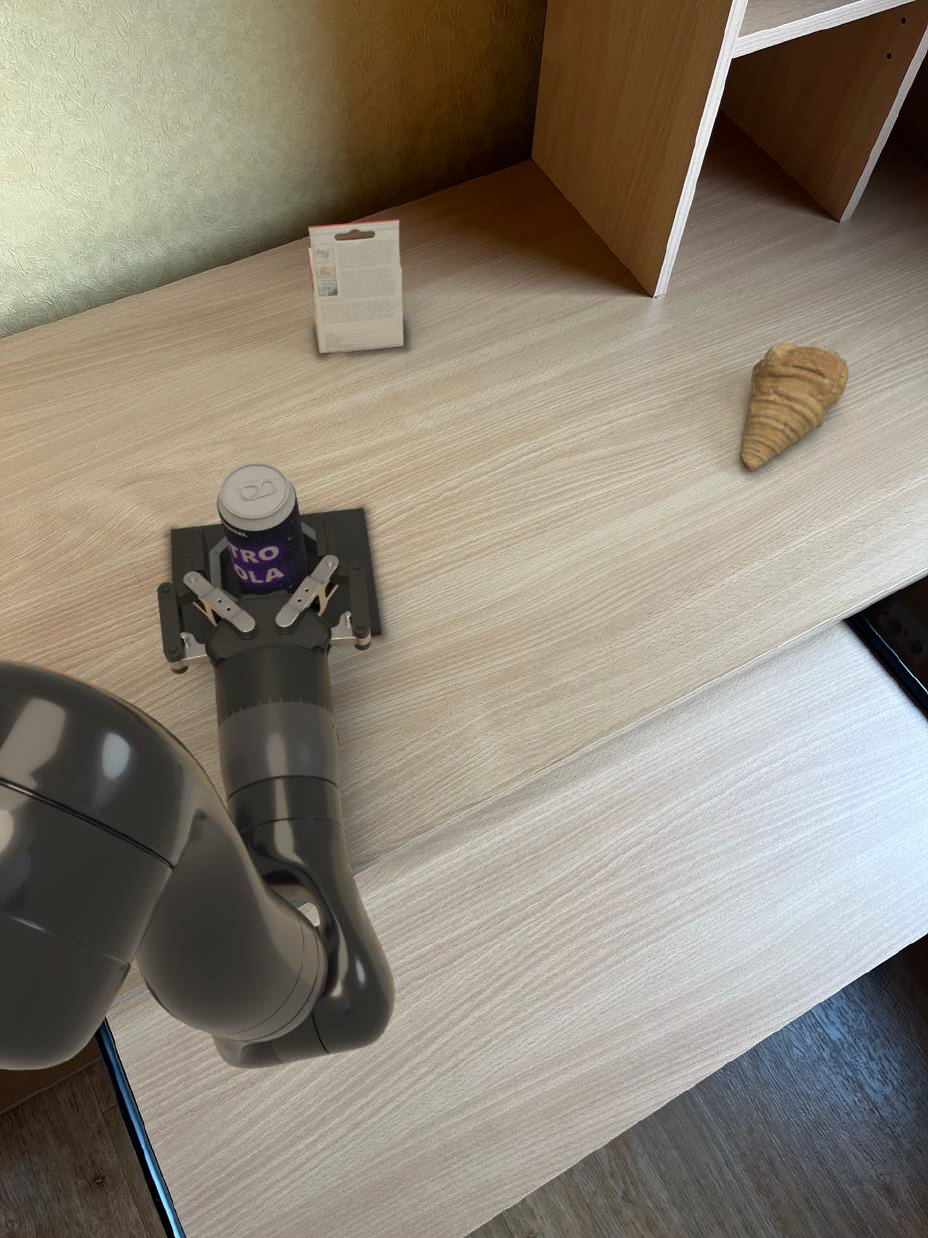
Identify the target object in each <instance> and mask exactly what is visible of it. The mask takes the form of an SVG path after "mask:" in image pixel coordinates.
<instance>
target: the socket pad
mask: <svg viewBox="0 0 928 1238" xmlns="http://www.w3.org/2000/svg"><path fill="white" fill-rule="evenodd" d="M318 515H323V521H324V522H329V521H331V523H332V524H333V526H334V530H335V538H336V545H337V553H338V556H339V558H340V559H342V560H343V561H347V562H351V561H353V560H361V561H363V562H364V563H365V567H366V580H367V593H368V607H369V620H370V634H371V637H373V636H380V635H382V625H381V618H380V612H379V606H378V598H377V591H376V585H375V578H374V570H373V565H372V564H373V563H372V556H371V551H370V550H371V549H370V543H369V538H368V537H369V536H368V530H367V522H366V517H365V516H366V515H365V509H364V507H357V508H347V509H340V510H339V509H337V510H331V511H322V512H313V513H305V514H300V520H301V526H302V532H303V538H304V544H305V550H306V556H307V561H308V568H309V576H310V575H311V574H312V573H313V571H314V570H315V569H316V567H317V566H318V564H319V560H318V552H317V544H316V536H315V527H314V519H313V516H318ZM202 528H203V531H204V534H205V538H206V541H207V548H208V565H209V582H210V584H211V585H212V586H213V587H217V588H219V589H220V590H221V591H222V592H223V593H224V594H225V595H226V596H228V597H229V598H230V599H231V600H232V601H233V602H236V601H237V600H239V599H241V595H246V594H245V593H244V592H243V591H242V590H241V588H240V586H239V583H238V580H237V576H236V573H235V569H234V566H233V562H232V559H231V555H230V551H229V548H228V544H227V541H226V537H225V534H224V530H223V526H222V523H215V524H207V525H206V524H205V525H197V526H189V527H180V528H171V529H170V545H171V546H170V548H171V551H170V552H171V575H172V576H171V578H172V579H171V580H172V584H173V583H175V582H177V581H179V580H181V579H182V578H183V577H184V575H185V560H184V542H185V540H186V538H188V537H193V535H192V530H193V529H202ZM347 611H350V612H351V605H350V589H349V587H346V586H340V585H339V586H338V587H337V588H336V590H335V591H334V593H333V594H332V596H331V597H330V599H329V600H328V602H327V606H326V608H325V610H324V612H323V613H322V614H321V616H320V617H321V618H322V619H323V620H324V621H326V622H327V623H328V625H329V626H330V628H333V627H336V626H337V625H338V624H339V622H340V617H341V616H342V614H344V613H345V612H347ZM182 612H183V620H184V629H185V632H186V633H191V634H192V635H193V636H194V638H195V640H196V642H197V643H199V644H205V643H206V640H207V638H208V637H209V635H210V634H211V633H212V631H213V630H214V628H215V627H216V626H215V625H214V624H213V623H212V622H211V621H210V620H209V618H208V617H207V616H206V615H205V614H204V613H203V612H202V611H201V610H200V609H199V608H198V607H197V606H196V605H195V604H194V603H191V604H189V605H187V606H184V607H182Z"/></svg>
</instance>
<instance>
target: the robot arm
mask: <svg viewBox="0 0 928 1238" xmlns="http://www.w3.org/2000/svg"><path fill="white" fill-rule="evenodd" d="M313 519H314V527H315V536H316V544H317V552H318V560H319V564H318V566H317V567H316V569H315V570H314V571H313V573H312V574H311V575H310V576H307V577H306V578H305V579H304V581H303V582H302V583H301V585H300V586H299V588H298V589H297V590H296V592H295V593H294V594H291V593H287V590H280V591H274V592H272V593H269V594H266V595H258V594H248V595H241V599H239V600H237V601H236V602H233V601H232V600H231V599H230V598H229V597H228V596H226V595H225V594H224V593H223V592H222V591H221V590H220V589H219V588H217V587H213V586H212V585H211V584H210V582H209V565H208V548H207V541H206V538H205V534H204V531H203V528H202V529H193V530H192V535H193V537H188V538H186V540H185V542H184V560H185V575H184V577H183V578H182V579H181V580H179V581H177V582H175V583H173V582H169V581H165V582H162V583H160V584H159V585H158V586H157V588H156V592H157V602H158V611H159V612H158V613H159V621H160V631H161V632H160V633H161V640H162V651H163V654H164V657H165V659H166V662H167V664H168V666H169V668H170V670H171V672H172V673H173V674H176V675H183V674H185V673H186V672H187V671H188V670H189V667H190V666H194V665H199V664H206V663H210V664H211V666H212V667H213V670H214V689H215V703H216V704H215V705H216V721H217V737H218V738H217V739H218V754H219V768H220V776H221V780H222V785H223V790H224V796H225V801H226V802H225V803H226V806H225V804H224V802H223V800H222V798H221V796H220V795H219V792H218V791H217V788H216V786H215V785H214V783H213V781H212V780H211V778H210V776H209V775H208V773H207V771H206V770H205V769H204V767H203V765H201V763H200V762H199V760H198V759H197V758H196V756H194V754H193V753H192V752H191V751H190V750H189V748H188V747H187V746H186V744H184V743H183V742H182V741H181V739H179V738H178V737H177V736H176V735H175V734H174V733H173V732H171V731H170V730H169V729H168V728H166V726H165V725H163V724H162V723H161V722H160V721H159V720H158V719H156V718H155V717H154V716H152V715H150V714H149V713H148V712H146V711H144V710H143V709H142V708H140V707H139V706H137V705H135V704H134V703H132V702H130V701H128V700H126V699H124V698H122V697H120V696H119V695H117V694H115V693H112V692H111V691H109V690H107V689H104V688H103V687H101V686H99V685H96V684H94V683H92V682H89V681H87V680H85V679H82V678H80V677H78V676H75V675H72V674H70V673H67V672H64V671H61V670H59V669H55V668H52V667H49V666H46V665H42V664H38V663H34V662H28V661H25V660H24V661H23V660H18V659H10V658H0V1070H8V1071H27V1070H45V1069H48V1068H52V1067H55V1066H59V1065H62V1064H65V1063H66V1062H68V1061H70V1060H71V1059H72V1058H74V1057H75V1056H76V1055H78V1054H79V1053H80V1052H81V1051H82V1050H83V1049H84V1048H85V1047H86V1046H88V1043H89V1042H90V1041H91V1039H92V1038H93V1036H94V1035H95V1033H96V1032H97V1030H98V1029H99V1027H101V1025H102V1023H103V1021H104V1020H105V1019H106V1017H107V1014H108V1013H109V1011H110V1009H111V1007H112V1006H113V1003H114V1002H115V1000H116V998H117V996H118V994H119V992H120V990H121V988H122V987H123V984H124V983H125V980H126V979H127V976H128V975H129V974H130V973H129V972H130V971H131V969H132V963H133V962H134V959H135V962H136V965H137V968H138V970H139V973H140V975H141V979H142V980H143V983H144V984H145V986H146V988H147V990H148V991H149V993H150V994H151V996H152V997H153V999H154V1000H155V1001H156V1002H157V1003H158V1005H159V1006H160V1007H161V1008H162V1009H163V1010H164V1011H165V1012H167V1014H168V1015H170V1016H171V1017H172V1018H174V1019H175V1020H177V1021H178V1022H181V1023H182V1024H185V1025H186V1026H188V1027H190V1028H192V1029H195V1030H199V1031H201V1032H205V1033H207V1034H210V1035H211V1037H212V1040H213V1043H214V1046H215V1048H216V1050H217V1052H218V1054H219V1056H220V1057H221V1059H222V1061H224V1062H225V1063H226V1064H227V1065H229V1066H230V1067H233V1068H236V1069H245V1070H246V1069H247V1070H250V1069H251V1070H253V1069H254V1070H256V1069H257V1070H258V1069H265V1068H272V1067H277V1066H281V1065H286V1064H291V1063H294V1062H295V1063H296V1062H301V1061H305V1060H310V1059H315V1058H320V1057H325V1056H330V1055H337V1054H341V1053H345V1052H350V1051H351V1052H352V1051H355V1050H359V1049H364V1048H365V1047H366V1048H367V1047H369V1046H371V1045H373V1044H375V1043H376V1042H378V1040H379V1039H380V1038H381V1037H382V1036H383V1035H384V1034H385V1032H386V1031H387V1028H388V1026H389V1025H390V1022H391V1019H392V1017H393V1013H394V1009H395V1003H396V987H395V981H394V975H393V971H392V970H391V966H390V964H389V961H388V958H387V955H386V954H385V953H386V952H385V950H384V949H383V947H382V944H381V942H380V940H379V937H378V935H377V933H376V931H375V929H374V927H373V924H372V922H371V920H370V917H369V915H368V912H367V910H366V907H365V905H364V903H363V901H362V898H361V894H360V892H359V889H358V886H357V882H356V881H355V876H354V874H353V869H352V866H351V862H350V858H349V853H348V849H347V842H346V833H345V824H344V818H343V809H342V799H341V794H340V749H339V741H340V740H339V734H338V730H337V724H336V717H335V709H334V700H333V692H332V683H331V674H330V666H329V654H330V651H331V650H332V647H334V646H335V647H336V646H346V645H353V647H354V649H356V650H358V651H360V652H361V651H362V652H363V651H367V650H369V648H370V647H371V646H372V636H371V634H370V620H369V607H368V593H367V580H366V567H365V563H364V562H363V561H361V560H353V561H351V562H347V561H343V560H342V559H340V558H339V556H338V553H337V545H336V538H335V530H334V526H333V524H332V523H331V521H329V522H324V521H323V515H318V516H313ZM339 585H340V586H346V587H349V589H350V605H351V612H350V611H347V612H345V613H344V614H342V616H341V617H340V622H339V624H338V625H337V626H336V627H333V628H330V626H329V625H328V623H327V622H326V621H324V620H323V619H322V618H321V617H320V616H321V614H322V613H323V612H324V610H325V608H326V606H327V602H328V600H329V599H330V597H331V596H332V594H333V593H334V591H335V590H336V588H337V587H338V586H339ZM191 603H194V604H195V605H196V606H197V607H198V608H199V609H200V610H201V611H202V612H203V613H204V614H205V615H206V616H207V617H208V618H209V620H210V621H211V622H212V623H213V624H214V625H215V626H216V627H215V628H214V630H213V631H212V633H211V634H210V635H209V637H208V638H207V640H206V643H205V644H199V643H197V642H196V640H195V638H194V636H193V635H192V634H191V633H186V632H185V629H184V620H183V612H182V607H184V606H187V605H189V604H191ZM291 902H301V903H308V904H311V905H313V906H314V907H315V910H316V911H317V915H318V920H319V924H317V925H314V924H313V923H312V921H311V920H310V919H309V918H308V917H307V916H306V915H305V914H304V913H303V912H302V910H299V909H298V908H297V907H296V906H295V905H294V904H292V903H291Z"/></svg>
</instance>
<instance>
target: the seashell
mask: <svg viewBox="0 0 928 1238" xmlns="http://www.w3.org/2000/svg"><path fill="white" fill-rule="evenodd" d="M849 373H850V371H849V368H848V364H847V361H846V359H845V357H844V356H843V355H842V354H840V353H839V352H838V351H836V350H832V349H831V348H829V346H824V347H821V346H805V345H802V346H800V345H796V344H794V343H791V344H790V343H785V342H784V343H783V342H782V343H780V344H777V345H774V346H772V347H770V348H768V350H767V351H766V353H765V354H764V358H762V359H760V360H759V361H758V362H757V363H756V364H755V365H754V366H753V367H752V370H751V378H750V382H751V383H750V388H751V389H750V393H751V395H750V398H749V405H748V413H747V416H746V419H745V425H744V426H743V436H742V441H741V446H740V447H741V448H740V450H739V453H740V457H741V459H742V461H743V463H744V464H745V465H746V466H747V468H748V470H749V471H750V472H753V471H755V470H757V469H759V468H760V467H761V466H763V465H766V464H767V463H768V462H769V461H771V459H772V458H773V457H776V456H779V455H780V454H781V453H783V452H784V451H785V450H786V448H787V447H789V446H791V445H794V444H795V443H796V442H800V441H801V440H802V439H803V437H804V435H806V434H808V433H812V432H814V431H816V429H820V428H822V427H823V426H824V419H825V415H826V412H827V410H828V408H829V407H830V406H833V405H836V404H838V403H839V400H840V398H841V397H842V396H843V395H844V392H845V390H846V388H847V384H848V380H849V375H850V374H849Z"/></svg>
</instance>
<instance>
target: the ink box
mask: <svg viewBox="0 0 928 1238" xmlns="http://www.w3.org/2000/svg"><path fill="white" fill-rule="evenodd" d="M307 229H308V234H309V240H310V247H308V252H307V253H308V263H309V264H308V265H309V275H310V282H311V294H312V302H313V311H314V321H315V330H316V338H317V344H318V351H319V354H322V355H323V354H339V353H349V352H350V353H351V352H359V351H361V352H362V351H372V350H382V349H392V348H397V347H398V348H399V347H400V348H401V347H404V342H405V341H404V313H403V311H404V305H403V303H404V301H403V267H402V262H401V253H400V219H388V220H387V219H386V220H374V221H363V222H350V223H349V222H348V223H336V224H326V225H325V224H324V225H312V226H311V225H310V226H308V227H307ZM353 230H357V231H358V232H360V233H363V232H364V233H365V232H373V233H374V234H373V235H369V236H360V237H349V238H348V237H346V238H335V236H336V235H339V234H341V235H342V234H349V233H350V232H351V231H353Z"/></svg>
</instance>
